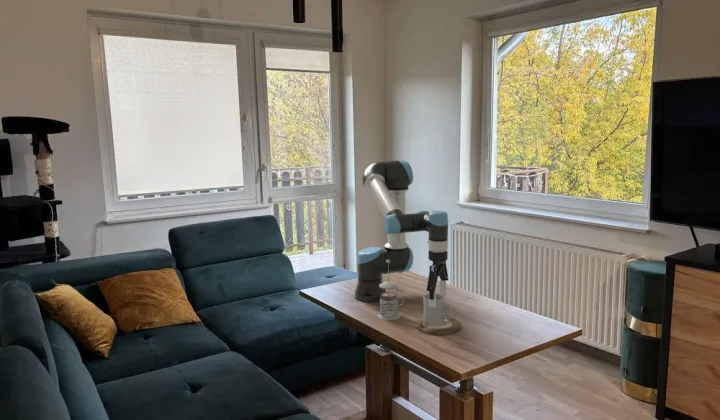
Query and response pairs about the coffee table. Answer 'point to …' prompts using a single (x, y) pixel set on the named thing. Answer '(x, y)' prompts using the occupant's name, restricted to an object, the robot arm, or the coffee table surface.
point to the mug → (436, 311)
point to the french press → (390, 312)
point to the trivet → (439, 327)
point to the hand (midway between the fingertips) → (437, 301)
